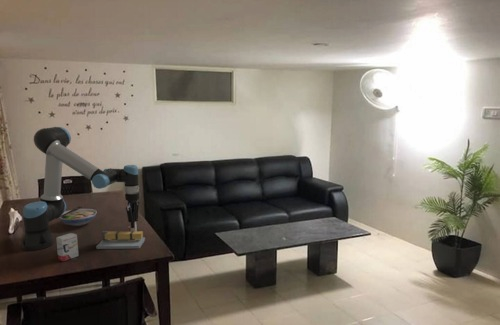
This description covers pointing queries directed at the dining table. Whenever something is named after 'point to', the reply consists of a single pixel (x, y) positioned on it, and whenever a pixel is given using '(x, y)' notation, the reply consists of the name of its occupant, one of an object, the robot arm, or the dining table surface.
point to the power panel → (121, 244)
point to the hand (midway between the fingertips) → (133, 232)
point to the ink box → (67, 247)
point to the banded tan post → (122, 235)
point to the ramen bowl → (78, 216)
